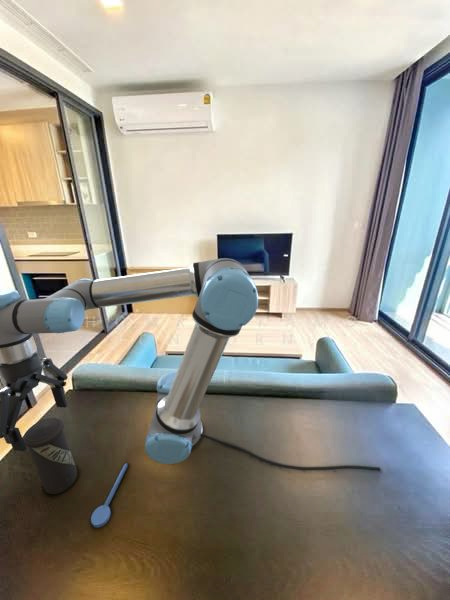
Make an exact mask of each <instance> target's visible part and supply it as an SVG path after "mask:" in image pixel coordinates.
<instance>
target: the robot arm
mask: <svg viewBox="0 0 450 600" xmlns="http://www.w3.org/2000/svg"><path fill="white" fill-rule="evenodd" d="M190 296H191V297H192V296H194V297H195V298H197V300H196V302H195V305H194V308H193V311H192V314H191V317H192V319H193V321H194V326H193V329H192V332H191V335H190V337H189V340H188V343H187V345H186V347H185V350H184V353H183V355H182V358H181V360H180V363H179V364H178V365H179V366H178V368H177V370H176V371H172V372H169V373H167V374H164V375H162V376H161V377H159V379H158V380H157V382H156V391H157V398H156V402H155V406H154V410H153V413H152V416H151V421H150V425H149V428H148V431H147V435H146V437H145V444H144V451H145V453H146V455H147V456H148V457H149V458H150V459H151V460H152V461H154V462H156V463H159V464H164V465H174V464H180V463H182V462H184V461H185V460H186V459H188V458H189V456H190V455H191V453H192V452H191V451H192V449H194V448H195V447H196V446H197V445H198V444H199V442H200V441H201V439H202V438H206V439H207V440H210V441H213V442H216V443H219V444H223V445H224V446H228V447H231V448H233V449H236V450H239V451H241V452H244V453H246V454H247V455H250V456H252V457H254V459H256V460H257V459H258V460H260V461H261V462H264V463H267V464H269V465H270V464H271V465H273V466H276V467H280V468H283V469H284V468H285V469H292V470H300V471H330V470H342V469H343V470H344V469H346V470H347V469H355V470H370V471H381V468H380V467H379V466H369V465H368V466H367V465H356V464H355V465H351V464H347V465H345V464H344V465H343V464H342V465H330V466H300V465H299V466H298V465H292V464H291V465H289V464H285V463H281V462H277V461H273V460H270V459H267V458H265V457H262V456H260V455H257V454H256V453H254V452H252V451H250V450H248V449H246V448H243V447H241V446H239V445H236V444H233V443H230V442H227V441H224V440H221V439H218V438H215V437H213V436H211V435H207V434H204V433H203V423H202V420H201V411H200V410H201V409H200V408H199V407H200V405H201V403H202V401H203V399H204V397H205V394H206V393H207V390H208V388H209V385H210V383H211V382H212V379H213V376H214V374H215V371H216V369H217V367H218V365H219V362H220V360H221V359H222V356H223V354H224V351H225V350H226V348H227V345H228V343H229V340H230V339H231V338H232V337H236V336H238V335H239V334H240V332H241V330H242V328H243V326H244V327H245V326H246V325H248V324H249V323H250V321H252V320H253V318H254V316H255V315H256V313H257V310H258V306H259V294H258V288H257V285H256V283H255V280H254V279H253V278H252V277H251V276H250V275H249V272H248V270H247V269H246V268H245V266H244V264H242V263H241V262H240V261H237V260H235V259H233V258H227V257H223V258H215V259H210V260H209V259H208V260H203V261H198V262H192V263H191V265H190V266H189V267H181V268H174V269H167V270H160V271H152V272H144V273H137V274H131V275H124V276H123V275H122V276H116V277H115V276H114V277H108V278H100V279H95V280H94V279H91V278H80V279H78V280H74V281H73V282H71V283H70V284H68V285H67V286H65V287H62V289H60V290H57V291H56V292H54V293H53V294H50V295H49V296H47V297H45V298H38V299H22V296H21V295H20V293H19V291H18V290H16V289H12V288H2V289H0V375H1V377H2V378H3V379H4V380H5V383H6V384H5V387H3V388H2V389H0V439H4V441H5V443H6V444H8V445H11V447H12V450H13V451H16V452H25V451H26V450H27V449H28V448H27V446H26V445H25V443H24V440H23V435H22V433H21V430H20V428H19V427H16V425H17V421H18V418H19V415H20V412H21V408H22V406H23V401H24V400H25V399H27V395H28V394H29V393H31V392H32V390H33V389H35V388H36V387H38V386H39V384H40V383H42V384H46V385H50V386H52V387H51V388H50V390H51V393H52V396H53V400H54V402H55V405H56V408H65V409H66V408H67V407H68V402H67V399H66V396H65V394H66V390H65V388H64V387H66V386H67V381H66V380H68V375H67V374H66V373H65V372H64V371H62V370H61V368H59V367H58V366H57V365H55V364H54V361H53V360H52V358H50V357H41V356H40V353H39V351H38V346H37V344H36V341H35V338H34V335H35V334H65V333H71V332H72V333H73V332H76V331H78V330H79V329H81V328H82V326H83V325H84V324H83V323H84V322H85V320H86V319H85V318H86V311H89V310H94V309H101V308H108V307H115V306H123V305H130V304H139V303H145V302H152V301H161V300H169V299H176V298H183V297H184V298H185V297H190ZM43 369H44V370H45V372H47V373H49V374H50V375H51V376H52V377H54V378H52V377H49V376H48V375H44V374H42V373H43ZM17 394H18V395H17ZM19 394H20V395H19Z"/></svg>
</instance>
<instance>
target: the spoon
mask: <svg viewBox="0 0 450 600" xmlns="http://www.w3.org/2000/svg"><path fill="white" fill-rule="evenodd" d="M128 467H129V464H128V463H124V464H123V466H122V468H121V470H120V472H119V474H118V475H117V478H116V481H115V482H114V484H113V486H112V488H111V490H110V491H109V493H108V496H107V497H106V499H105V501H104V504H102V505H100V506H98V507H97V508H95V509H94V511H93V512H92V513H91V516H90V522H91V525H92V526H93V527H94V528H101V527H103V526H105V525H106V524H107V523H108V521H109V520H110V518H111V514H112V512H111V508H110V504H111V502H112V499H113V498H114V496H115V493H116V491H117V489H118V487H119V485H120V484H121V482H122V480H123V477H124V475H125V473H126V472H127V470H128Z"/></svg>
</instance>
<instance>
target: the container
mask: <svg viewBox="0 0 450 600" xmlns="http://www.w3.org/2000/svg"><path fill="white" fill-rule="evenodd" d="M64 428H65V422H64V421H63V419H61V418H59V417H48V418H44V419H42V420H39V421H37V422H35V423H34V424H32V425H31V426H30V427H29V428H28V429H27V430H26V431H25V432H24V434H23V435H22V438H23V440H24V443H25V445H26V447H28V449H29V452H30V454H31V457H32V460H33V462H34V465H35V467H36V471H37V473H38V476H39V478H40V481H41V485H42V487H43V489H44V491H45V493H47V494H50V495H56V494H60V493H63V492H65V491H66V490H68V489H69V488H71V486H72V485H74V483H75V481H76V479H77V477H78V470H77V466H76V464H75V461H74V458H73V454H72V452H71V449H70V446H69V443H68V441H67V438H66V435H65V432H64Z"/></svg>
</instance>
